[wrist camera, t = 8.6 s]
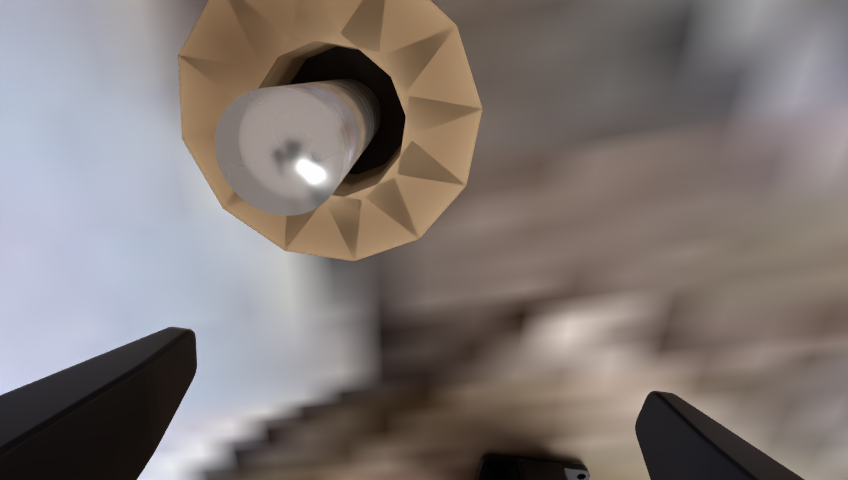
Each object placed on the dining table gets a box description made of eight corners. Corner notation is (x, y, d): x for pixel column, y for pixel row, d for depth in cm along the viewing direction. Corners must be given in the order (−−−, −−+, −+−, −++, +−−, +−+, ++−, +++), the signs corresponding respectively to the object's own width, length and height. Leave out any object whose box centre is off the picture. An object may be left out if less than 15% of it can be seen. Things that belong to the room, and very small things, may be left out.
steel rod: (376, 153, 18) (337, 224, 10) (312, 142, 18) (215, 205, 10) (385, 85, 17) (349, 100, 9) (316, 72, 17) (213, 76, 9)
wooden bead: (443, 241, 20) (447, 275, 16) (227, 207, 19) (187, 236, 16) (491, 1, 16) (508, -16, 13) (224, -50, 15) (171, -82, 12)
